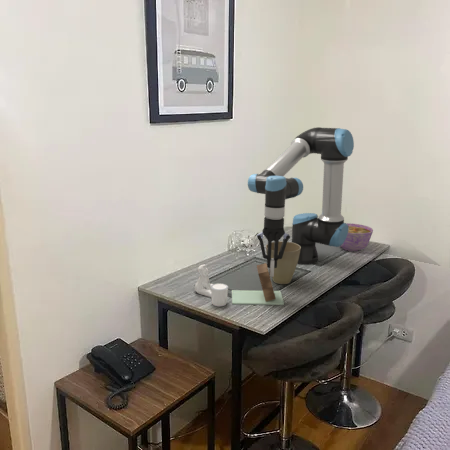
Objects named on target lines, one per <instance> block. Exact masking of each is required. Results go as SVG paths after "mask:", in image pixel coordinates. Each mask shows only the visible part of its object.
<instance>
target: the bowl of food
mask: <svg viewBox="0 0 450 450" xmlns="http://www.w3.org/2000/svg"><path fill="white" fill-rule="evenodd" d="M345 223H346V224H348V234H347V237H346V239H345V241H344V243H343V244H342V245H341V246H339V247H340V248H342V249H343V250H345V251H347V250H348V251H347V252H353V251H354V252H359V251H361V250H364V249H365V248H367V246H368V245H369V243H370V240H371V238H372V235H373V233H374V232H373V231H374V229H373V228H372V227H370V226H368V225H364V224H360V223H351V222H350V223H347V222H345ZM358 250H359V251H358Z"/></svg>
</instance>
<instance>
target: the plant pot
mask: <svg viewBox="0 0 450 450" xmlns="http://www.w3.org/2000/svg"><path fill="white" fill-rule="evenodd" d="M282 242H283V240H281V241H280V240H279V243H278V255H279V251H280V248H281V245H282ZM267 249H268V243H267V244H266V245H265V253H266V254H267ZM300 250H301V247H300V245H298V244H296V243H292V241H291V242H290V241H287V244H286V247H285V250H284V254H283V257H282V259H278V260H277V268H274V277H271V278H272V281H273V282H274V283H276V284H278V285H279V284H280V285H288V284H290V283H291V281H292V279H293V276H294V274H295V271H296V269H297V266H298V264H297V263H298V259H299V255H300ZM271 259H274V241H272V246H271Z"/></svg>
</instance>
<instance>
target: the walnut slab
mask: <svg viewBox="0 0 450 450" xmlns="http://www.w3.org/2000/svg"><path fill="white" fill-rule="evenodd" d="M256 268H257V270H256V271H257V275H258V277H259V278H258V279H259V281H260V286H261V289H262V290H261V291H263V293H264V297H265V301H270V300H274V299H276V298H275V294H274V291H275V290H274V287H273V283H272V279H271V277H270V275H269V268H268V267H267V262H265V263H261V264H257V265H256Z"/></svg>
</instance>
